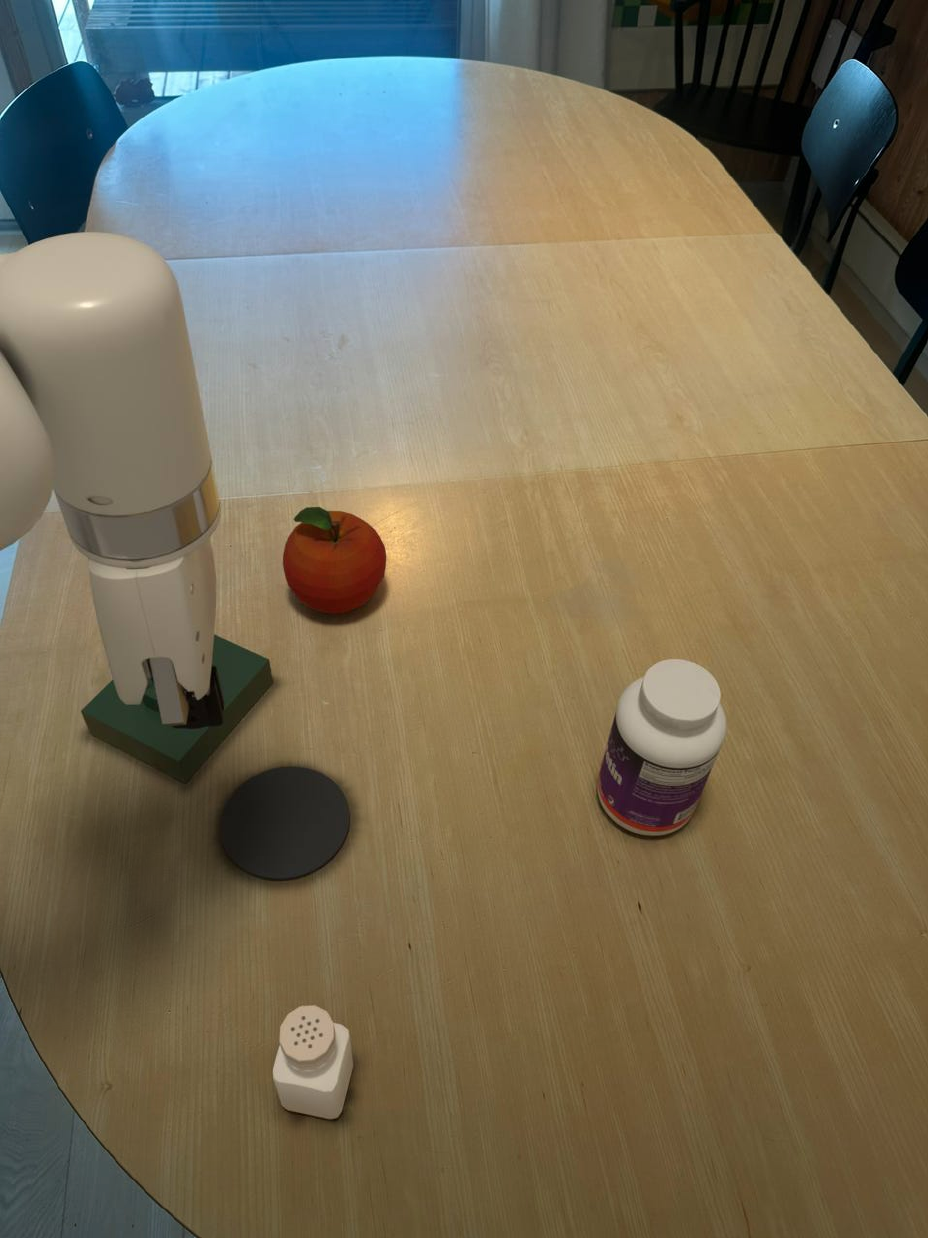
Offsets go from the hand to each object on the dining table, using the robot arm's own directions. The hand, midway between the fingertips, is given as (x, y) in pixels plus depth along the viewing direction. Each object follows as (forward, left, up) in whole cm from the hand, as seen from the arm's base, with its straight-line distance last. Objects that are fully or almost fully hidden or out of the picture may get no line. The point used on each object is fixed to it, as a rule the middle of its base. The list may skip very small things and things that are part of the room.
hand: (198, 716), depth 62 cm
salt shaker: (-11, -15, -17) cm, 25 cm away
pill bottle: (+20, -26, -17) cm, 37 cm away
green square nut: (+9, +12, -17) cm, 23 cm away
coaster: (+4, -2, -17) cm, 18 cm away
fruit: (+27, +8, -17) cm, 33 cm away
